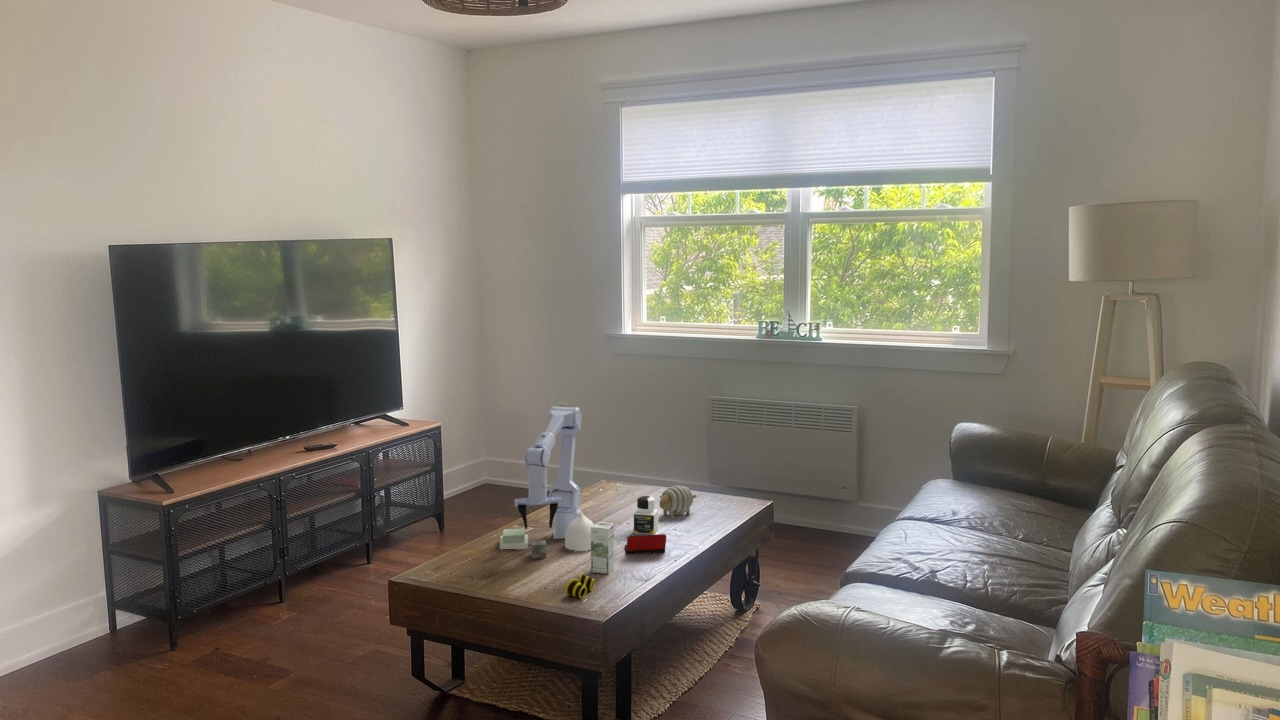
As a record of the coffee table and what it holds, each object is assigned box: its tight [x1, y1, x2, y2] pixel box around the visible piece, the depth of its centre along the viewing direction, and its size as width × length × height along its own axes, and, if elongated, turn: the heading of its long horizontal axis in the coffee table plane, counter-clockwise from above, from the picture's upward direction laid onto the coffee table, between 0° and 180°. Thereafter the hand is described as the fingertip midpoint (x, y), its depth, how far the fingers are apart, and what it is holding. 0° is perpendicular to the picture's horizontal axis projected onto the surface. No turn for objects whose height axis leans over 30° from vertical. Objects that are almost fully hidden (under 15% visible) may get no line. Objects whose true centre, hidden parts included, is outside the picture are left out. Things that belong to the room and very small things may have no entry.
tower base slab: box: [499, 534, 529, 550], centre depth 294 cm, size 9×9×2 cm
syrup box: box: [590, 521, 615, 575], centre depth 269 cm, size 6×6×14 cm
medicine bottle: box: [633, 495, 659, 535], centre depth 308 cm, size 7×7×12 cm
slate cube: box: [531, 539, 547, 559], centre depth 283 cm, size 4×4×4 cm
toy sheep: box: [658, 485, 697, 519], centre depth 326 cm, size 11×17×11 cm, turn 133°
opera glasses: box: [564, 572, 596, 599], centre depth 252 cm, size 10×5×5 cm, turn 158°
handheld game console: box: [624, 533, 667, 555], centre depth 287 cm, size 12×11×7 cm
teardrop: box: [564, 510, 594, 552], centre depth 292 cm, size 11×11×12 cm
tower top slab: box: [502, 528, 526, 543], centre depth 294 cm, size 7×7×2 cm
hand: (538, 527), depth 282 cm, fingers open, 7 cm apart
